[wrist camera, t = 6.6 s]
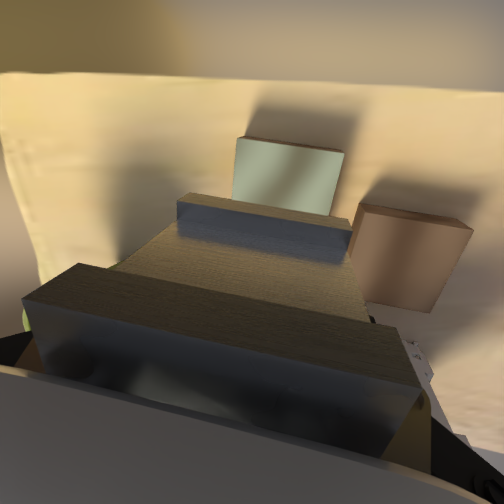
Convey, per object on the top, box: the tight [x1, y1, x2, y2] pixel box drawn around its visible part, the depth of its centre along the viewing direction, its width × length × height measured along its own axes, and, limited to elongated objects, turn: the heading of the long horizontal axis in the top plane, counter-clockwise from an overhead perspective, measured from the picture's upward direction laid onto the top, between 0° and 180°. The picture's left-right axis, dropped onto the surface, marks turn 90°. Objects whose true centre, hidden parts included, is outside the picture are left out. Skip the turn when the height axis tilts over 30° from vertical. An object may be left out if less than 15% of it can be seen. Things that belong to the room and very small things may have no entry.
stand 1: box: [232, 136, 345, 216], centre depth 26 cm, size 9×9×3 cm
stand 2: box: [347, 203, 474, 314], centre depth 27 cm, size 9×9×3 cm
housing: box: [21, 193, 423, 459], centre depth 9 cm, size 6×7×7 cm
